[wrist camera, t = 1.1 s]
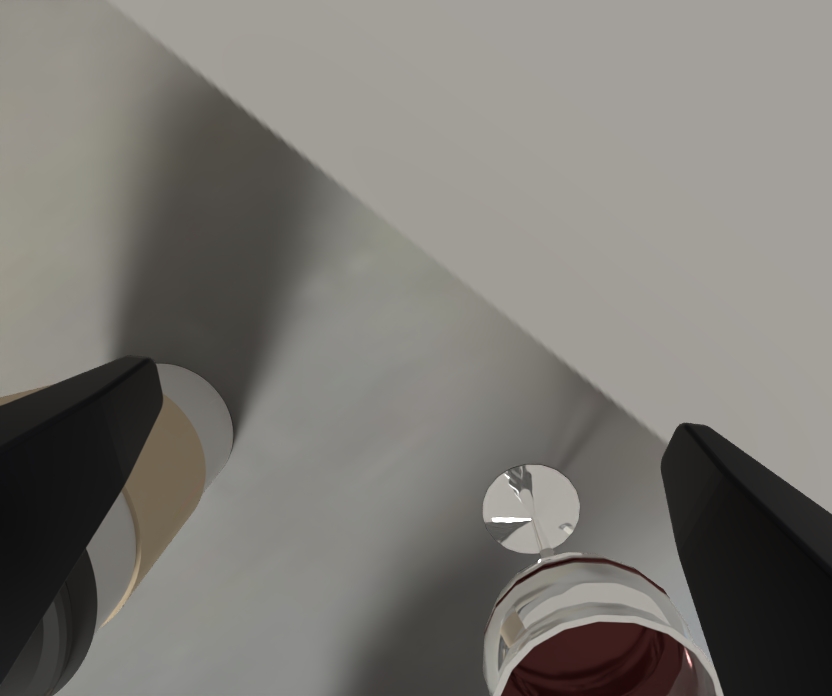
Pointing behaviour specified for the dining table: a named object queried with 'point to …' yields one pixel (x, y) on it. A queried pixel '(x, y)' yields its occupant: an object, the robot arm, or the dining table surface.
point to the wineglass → (578, 609)
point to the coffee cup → (129, 529)
